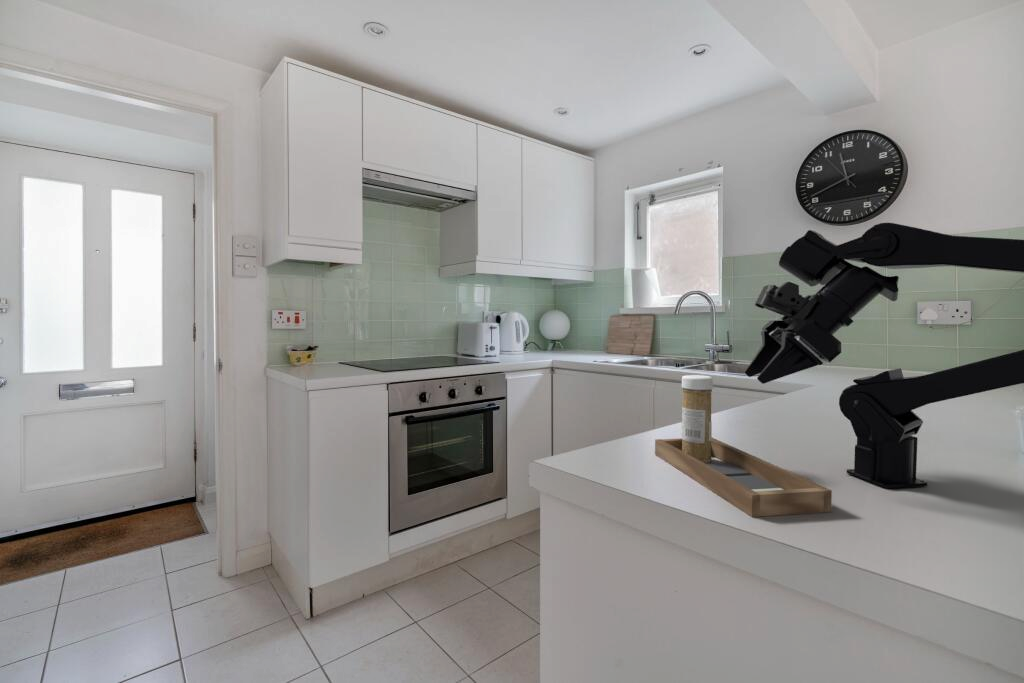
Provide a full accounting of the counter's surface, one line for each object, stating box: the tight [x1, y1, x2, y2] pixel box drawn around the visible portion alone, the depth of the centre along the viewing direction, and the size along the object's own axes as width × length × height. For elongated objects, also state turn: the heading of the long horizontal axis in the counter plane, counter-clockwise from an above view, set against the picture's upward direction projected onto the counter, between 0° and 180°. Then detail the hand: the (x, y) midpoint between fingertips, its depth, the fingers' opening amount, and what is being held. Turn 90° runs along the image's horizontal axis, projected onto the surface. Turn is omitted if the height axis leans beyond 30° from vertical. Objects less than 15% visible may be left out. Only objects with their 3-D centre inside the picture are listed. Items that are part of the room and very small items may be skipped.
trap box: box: [654, 437, 833, 518], centre depth 66 cm, size 10×25×2 cm, turn 8°
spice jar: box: [681, 374, 714, 464], centre depth 74 cm, size 5×5×14 cm
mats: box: [705, 462, 779, 490], centre depth 66 cm, size 8×11×1 cm
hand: (752, 377), depth 72 cm, fingers open, 9 cm apart
